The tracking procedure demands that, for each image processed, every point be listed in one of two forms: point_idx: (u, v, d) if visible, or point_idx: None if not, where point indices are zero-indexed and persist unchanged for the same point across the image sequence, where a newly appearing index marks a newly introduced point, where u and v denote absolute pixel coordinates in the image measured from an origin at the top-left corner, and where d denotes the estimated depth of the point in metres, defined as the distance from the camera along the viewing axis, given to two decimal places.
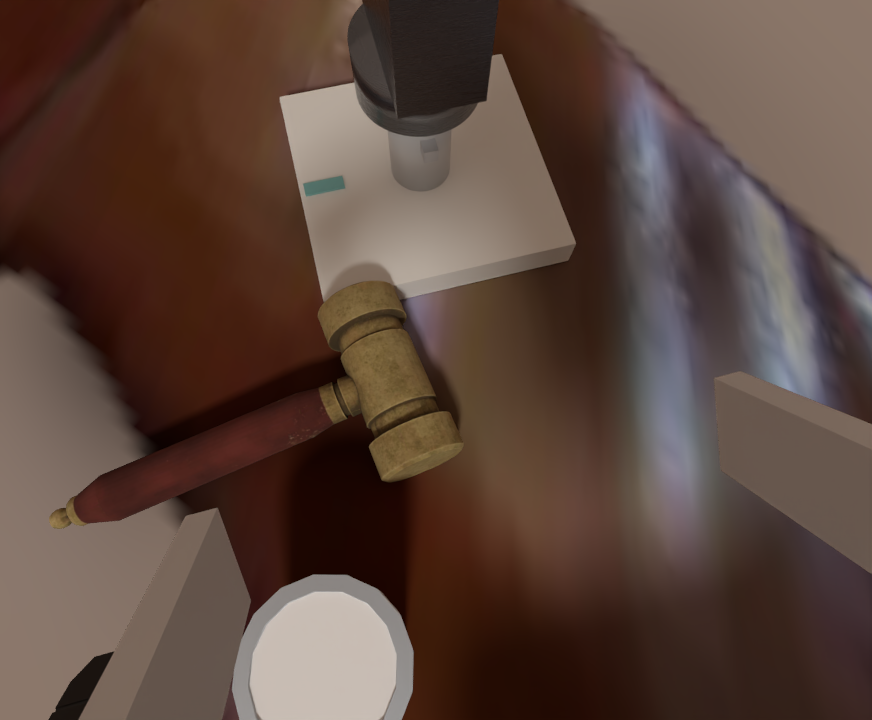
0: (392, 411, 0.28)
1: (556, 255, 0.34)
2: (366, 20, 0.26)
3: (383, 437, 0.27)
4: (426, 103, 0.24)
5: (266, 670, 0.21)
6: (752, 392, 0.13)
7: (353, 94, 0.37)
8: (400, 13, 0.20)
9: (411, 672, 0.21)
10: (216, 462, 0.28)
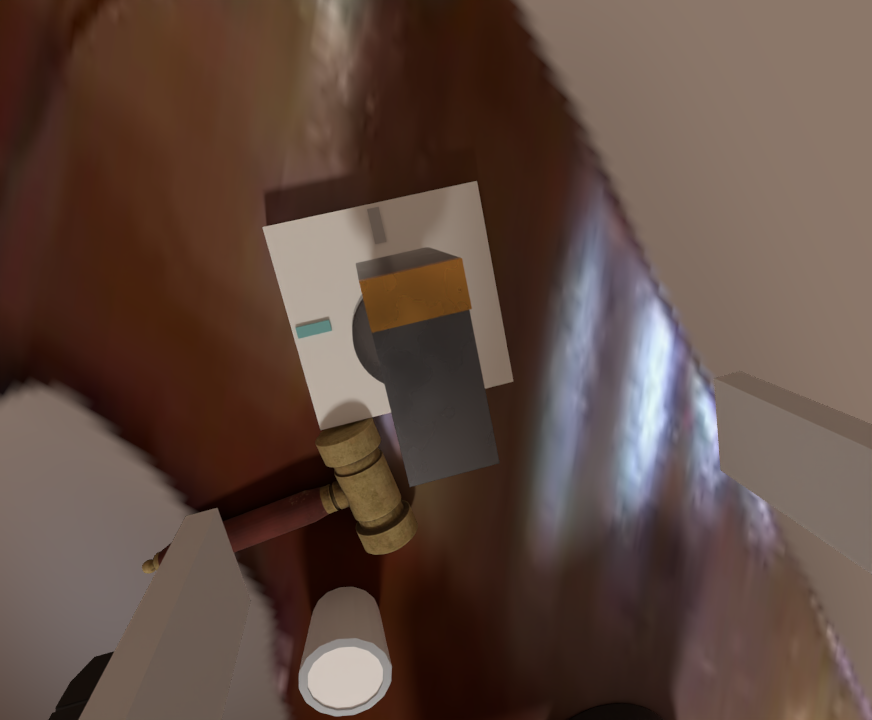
0: (373, 521, 0.43)
1: None
2: (367, 318, 0.31)
3: (367, 537, 0.43)
4: None
5: (315, 680, 0.41)
6: (751, 392, 0.13)
7: (334, 226, 0.39)
8: None
9: (390, 675, 0.42)
10: (254, 542, 0.43)
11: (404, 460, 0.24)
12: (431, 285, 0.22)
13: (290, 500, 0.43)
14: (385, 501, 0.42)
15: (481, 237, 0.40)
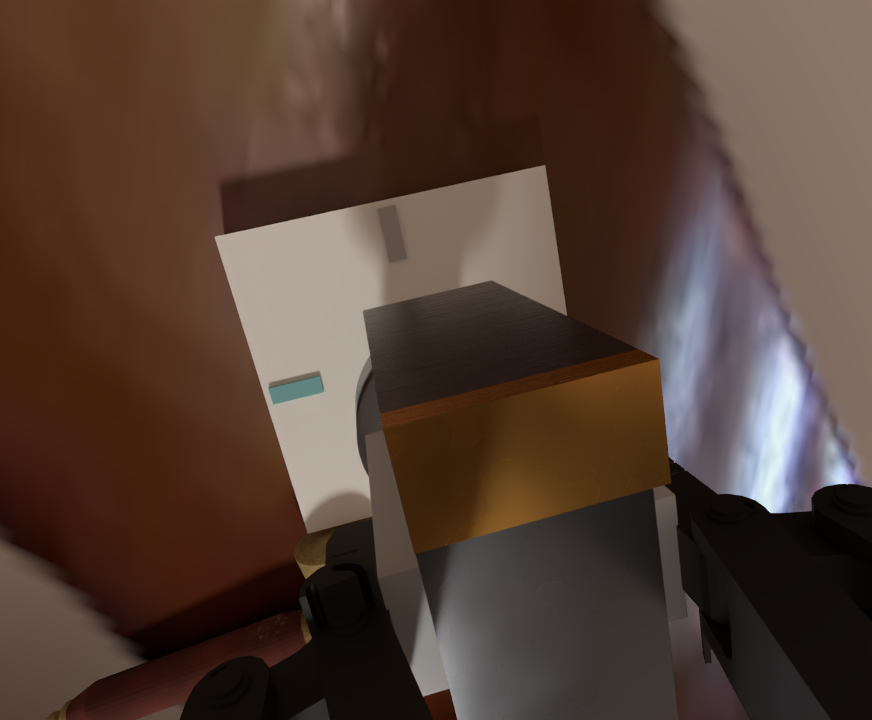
0: None
1: None
2: None
3: None
4: None
5: None
6: None
7: (327, 235, 0.25)
8: None
9: None
10: None
11: None
12: (574, 430, 0.08)
13: (258, 632, 0.30)
14: None
15: (549, 251, 0.27)
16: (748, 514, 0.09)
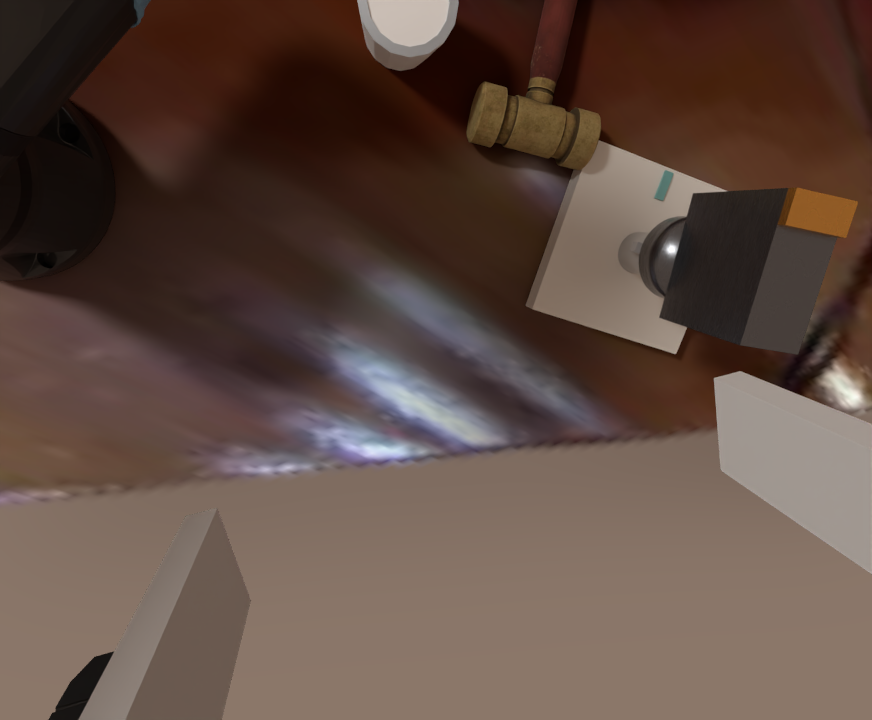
0: (515, 110, 0.44)
1: (532, 296, 0.51)
2: (680, 237, 0.41)
3: (505, 94, 0.43)
4: None
5: None
6: (752, 392, 0.13)
7: None
8: None
9: (381, 45, 0.38)
10: None
11: (747, 324, 0.33)
12: (833, 210, 0.31)
13: None
14: (524, 133, 0.44)
15: (642, 339, 0.52)
16: None
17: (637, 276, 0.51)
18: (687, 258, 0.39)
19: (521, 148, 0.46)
